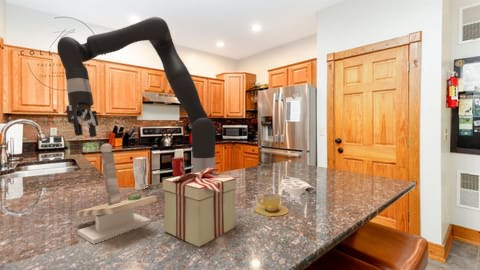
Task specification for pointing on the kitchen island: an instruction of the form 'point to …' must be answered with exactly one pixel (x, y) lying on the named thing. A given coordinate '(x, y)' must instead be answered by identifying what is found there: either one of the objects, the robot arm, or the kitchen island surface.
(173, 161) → the beverage can
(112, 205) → the platform
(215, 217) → the gift box
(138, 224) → the deck stand
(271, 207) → the cup
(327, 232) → the kitchen island surface
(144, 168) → the beer glass
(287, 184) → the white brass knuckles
